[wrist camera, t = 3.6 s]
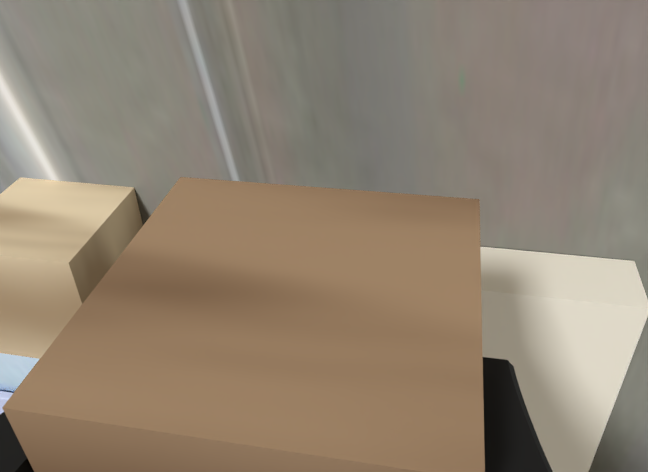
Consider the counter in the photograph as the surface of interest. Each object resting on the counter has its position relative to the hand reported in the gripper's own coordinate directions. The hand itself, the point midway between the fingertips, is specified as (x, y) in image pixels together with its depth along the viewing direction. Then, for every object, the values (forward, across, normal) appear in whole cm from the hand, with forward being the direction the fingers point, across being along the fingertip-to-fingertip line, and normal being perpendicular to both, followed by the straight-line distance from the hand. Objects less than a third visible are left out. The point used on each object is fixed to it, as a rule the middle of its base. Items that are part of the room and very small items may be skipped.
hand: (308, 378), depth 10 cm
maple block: (+8, +10, +4) cm, 13 cm away
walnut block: (+2, 0, 0) cm, 2 cm away
